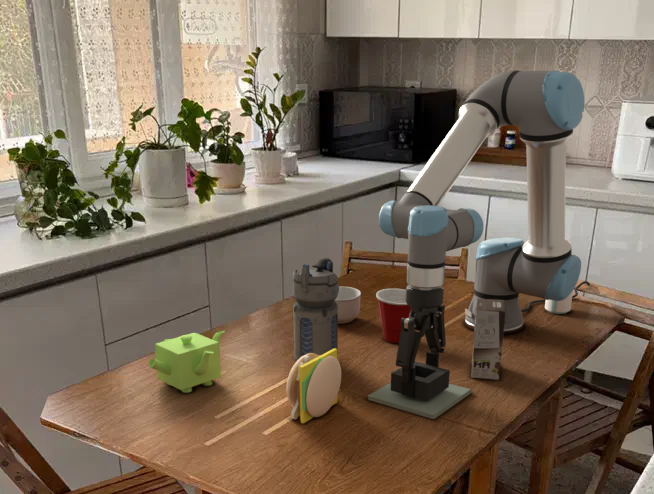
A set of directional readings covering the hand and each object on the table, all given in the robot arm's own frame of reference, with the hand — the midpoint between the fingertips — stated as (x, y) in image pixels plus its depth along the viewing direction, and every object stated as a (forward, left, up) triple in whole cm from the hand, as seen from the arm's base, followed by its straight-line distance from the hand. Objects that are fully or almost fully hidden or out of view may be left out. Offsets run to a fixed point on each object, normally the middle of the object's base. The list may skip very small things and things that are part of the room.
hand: (419, 387), depth 166 cm
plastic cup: (-27, -23, -2) cm, 36 cm away
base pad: (0, 0, -2) cm, 2 cm away
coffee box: (-21, +5, -2) cm, 22 cm away
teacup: (-31, -45, -2) cm, 55 cm away
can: (-74, +1, -2) cm, 74 cm away
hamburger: (+19, -14, -2) cm, 24 cm away
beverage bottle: (-2, -29, -2) cm, 29 cm away
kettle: (+24, -44, -2) cm, 50 cm away
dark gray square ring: (0, 0, 0) cm, 0 cm away
